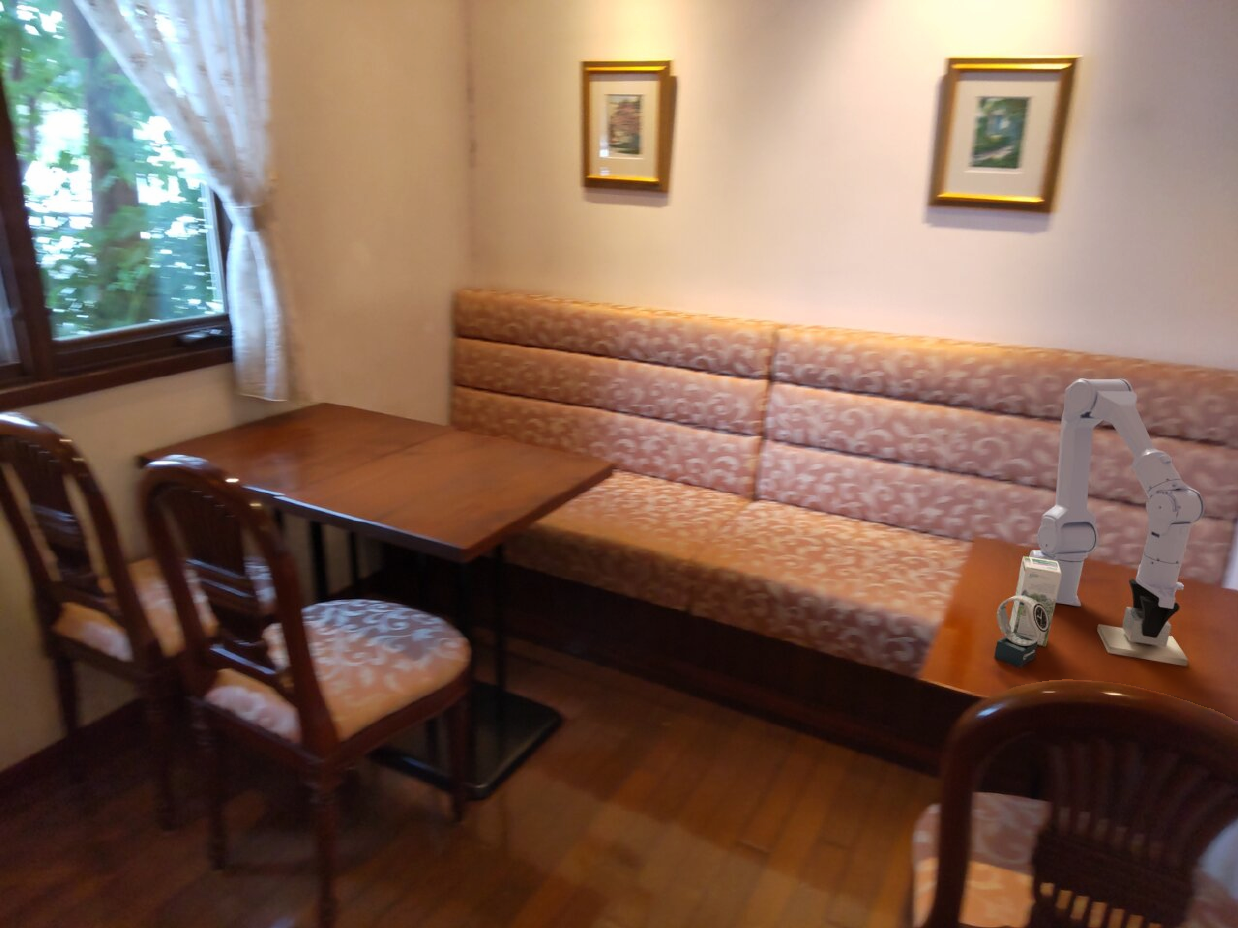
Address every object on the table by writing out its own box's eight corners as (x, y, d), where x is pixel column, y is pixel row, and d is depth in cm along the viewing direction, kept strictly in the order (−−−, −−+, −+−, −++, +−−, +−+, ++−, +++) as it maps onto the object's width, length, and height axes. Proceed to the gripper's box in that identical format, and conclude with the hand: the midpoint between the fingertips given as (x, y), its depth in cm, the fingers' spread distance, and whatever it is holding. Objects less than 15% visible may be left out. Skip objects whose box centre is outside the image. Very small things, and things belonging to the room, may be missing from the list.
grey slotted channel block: (1129, 640, 148) (1134, 620, 147) (1121, 626, 153) (1126, 606, 152) (1166, 646, 147) (1171, 625, 145) (1156, 632, 152) (1161, 611, 151)
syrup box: (1042, 633, 154) (1057, 559, 150) (1046, 648, 149) (1062, 571, 144) (1008, 627, 156) (1022, 553, 151) (1011, 641, 150) (1026, 565, 146)
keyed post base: (1108, 652, 148) (1114, 625, 147) (1097, 630, 156) (1103, 604, 155) (1186, 666, 145) (1193, 638, 143) (1171, 642, 153) (1177, 616, 151)
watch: (1030, 672, 140) (1043, 612, 137) (984, 653, 146) (995, 594, 143) (1046, 662, 144) (1058, 603, 140) (999, 643, 149) (1011, 586, 146)
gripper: (1203, 576, 138) (1183, 651, 142) (1176, 545, 151) (1158, 615, 155) (1154, 569, 140) (1135, 643, 144) (1132, 539, 153) (1115, 608, 157)
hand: (1144, 628), depth 149 cm, fingers closed on grey slotted channel block, 5 cm apart
